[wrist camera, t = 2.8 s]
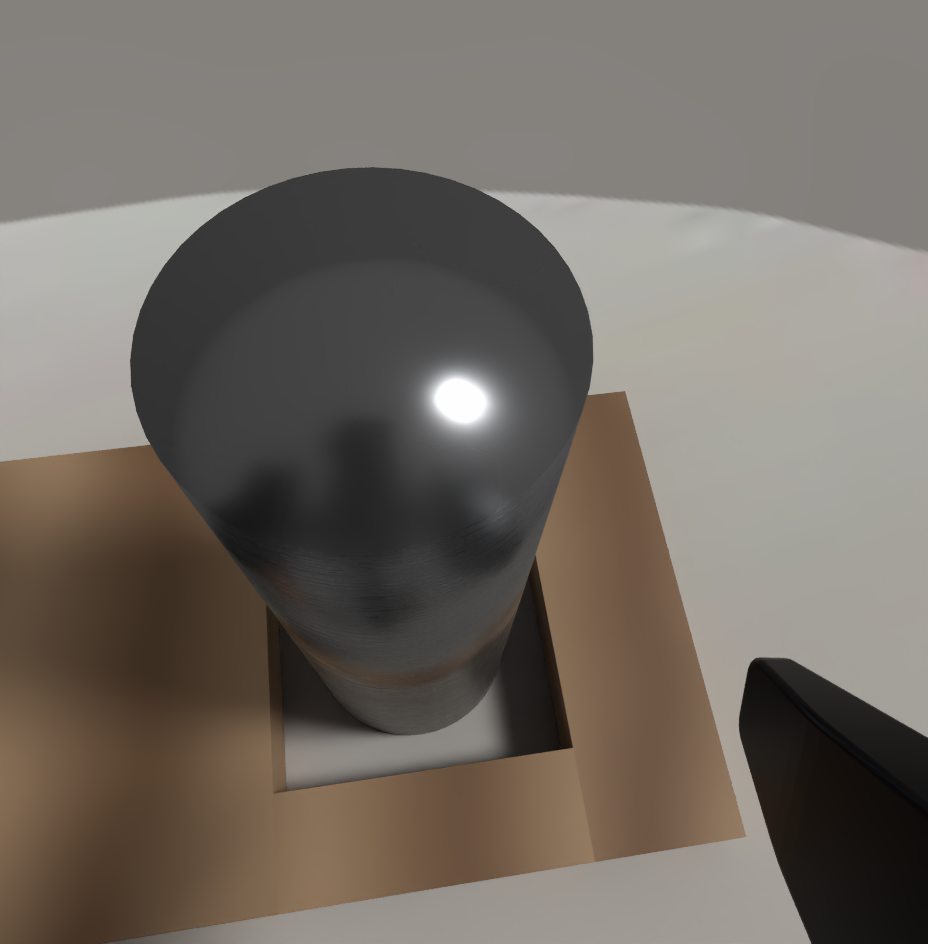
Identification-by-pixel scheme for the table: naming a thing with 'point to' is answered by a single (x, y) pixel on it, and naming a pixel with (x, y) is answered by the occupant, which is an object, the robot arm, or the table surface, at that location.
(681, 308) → the table surface
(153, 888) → the slotted peg board
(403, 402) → the metal peg
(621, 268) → the table surface
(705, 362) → the table surface
